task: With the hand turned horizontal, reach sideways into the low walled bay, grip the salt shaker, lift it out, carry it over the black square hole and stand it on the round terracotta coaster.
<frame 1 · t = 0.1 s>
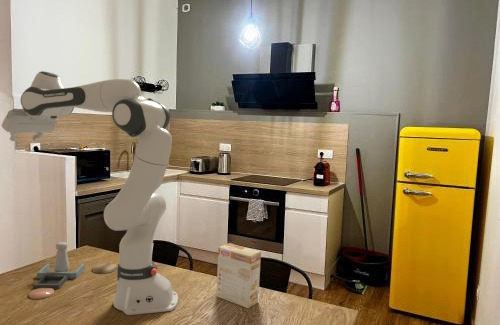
hand: (24, 140, 147), 54 cm above the table, tool tilted 30°, fingers open, 8 cm apart
hole frame: (51, 283, 143), on the table
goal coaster: (41, 293, 134), on the table
cork trivet: (105, 269, 160), on the table
salt shaker: (61, 273, 153), on the table
cubby bay: (61, 273, 153), on the table
coffeecake box: (236, 299, 139), on the table
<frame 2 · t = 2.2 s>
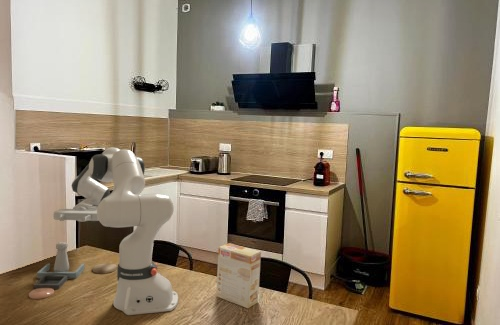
hand: (72, 219, 163), 20 cm above the table, tool horizontal, fingers open, 8 cm apart
nothing on the table moved.
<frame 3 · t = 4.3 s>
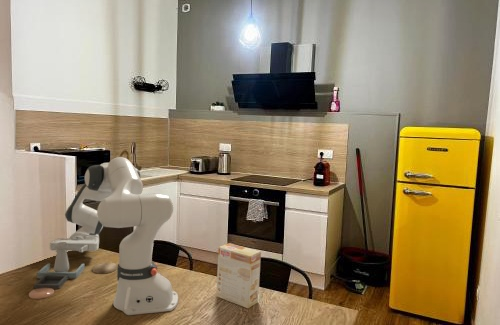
hand: (68, 250, 159), 7 cm above the table, tool horizontal, fingers open, 8 cm apart
nothing on the table moved.
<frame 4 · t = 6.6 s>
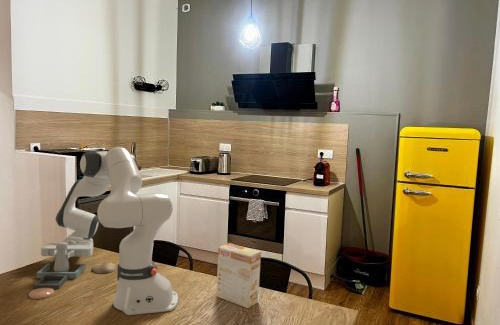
hand: (60, 256, 151), 8 cm above the table, tool horizontal, fingers closed on salt shaker, 3 cm apart
salt shaker: (61, 273, 153), on the table, touching gripper
everything else where it was.
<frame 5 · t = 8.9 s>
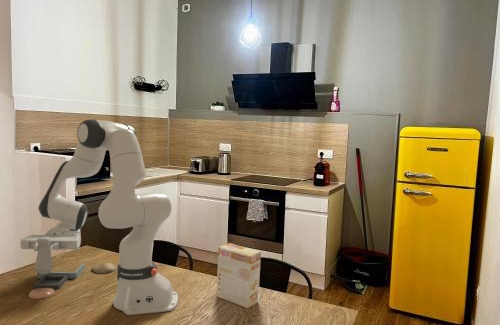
hand: (42, 249, 133), 17 cm above the table, tool horizontal, fingers closed on salt shaker, 3 cm apart
salt shaker: (43, 272, 134), point 7 cm above the table, touching gripper
everything else where it was.
when the fingers open (10 cm above the table, at t = 11.1 s): salt shaker stays where it is, resting on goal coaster.
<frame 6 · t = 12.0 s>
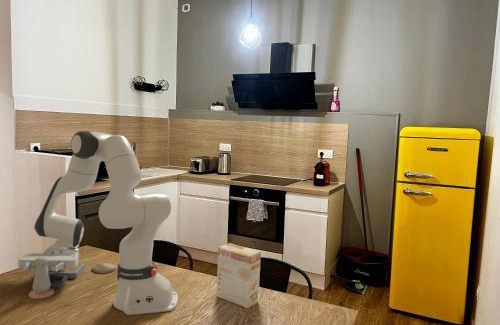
hand: (40, 269, 132), 10 cm above the table, tool horizontal, fingers open, 8 cm apart
salt shaker: (41, 292, 134), resting on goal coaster
everything else where it was.
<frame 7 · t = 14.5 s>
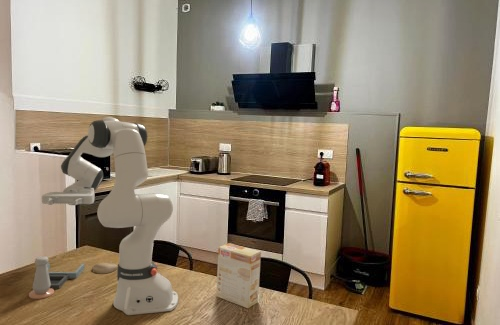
hand: (62, 202, 149), 30 cm above the table, tool horizontal, fingers open, 8 cm apart
nothing on the table moved.
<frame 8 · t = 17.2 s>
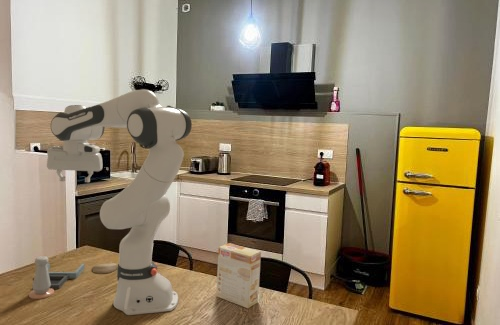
hand: (75, 181, 146), 39 cm above the table, tool pointing down, fingers open, 8 cm apart
nothing on the table moved.
at the end: salt shaker 0.2 cm from the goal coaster (horizontally); salt shaker tilted 0°; the gripper is holding nothing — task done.
